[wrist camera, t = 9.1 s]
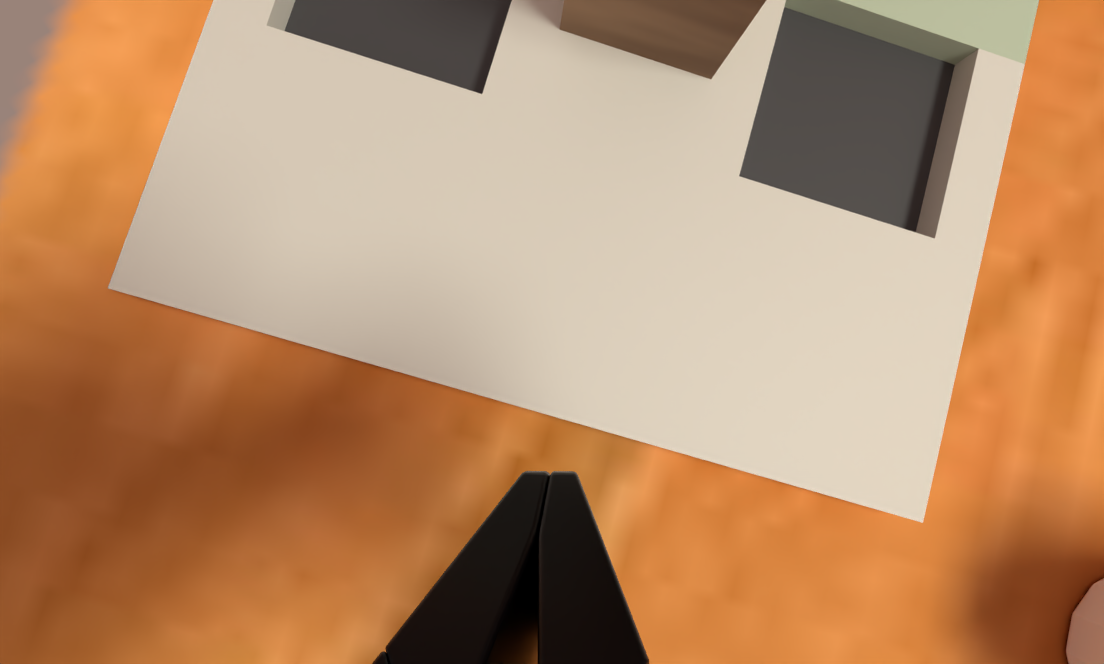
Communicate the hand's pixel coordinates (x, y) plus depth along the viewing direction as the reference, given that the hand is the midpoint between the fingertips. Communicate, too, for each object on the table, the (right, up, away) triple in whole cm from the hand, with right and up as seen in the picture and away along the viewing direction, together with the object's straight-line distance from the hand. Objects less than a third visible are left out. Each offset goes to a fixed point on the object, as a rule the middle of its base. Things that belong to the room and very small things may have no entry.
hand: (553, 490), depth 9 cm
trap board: (+4, +14, +14) cm, 20 cm away
